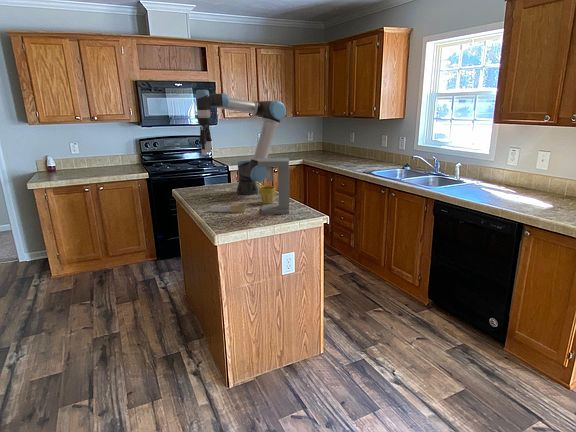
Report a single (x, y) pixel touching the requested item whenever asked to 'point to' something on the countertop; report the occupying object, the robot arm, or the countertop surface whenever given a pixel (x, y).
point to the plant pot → (267, 194)
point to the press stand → (282, 184)
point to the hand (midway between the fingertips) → (206, 153)
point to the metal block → (229, 208)
